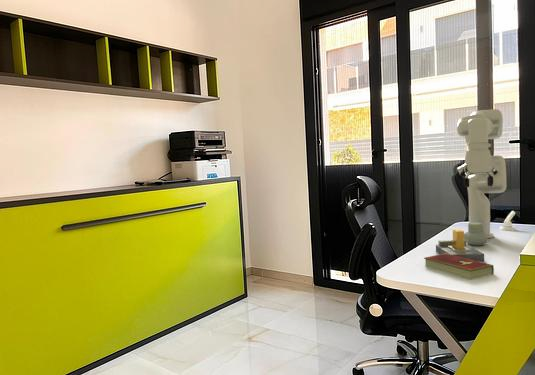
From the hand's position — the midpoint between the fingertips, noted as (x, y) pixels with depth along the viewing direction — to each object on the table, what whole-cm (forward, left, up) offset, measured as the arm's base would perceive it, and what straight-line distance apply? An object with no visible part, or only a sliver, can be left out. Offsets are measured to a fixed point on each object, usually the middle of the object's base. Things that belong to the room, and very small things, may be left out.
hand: (478, 186), depth 178 cm
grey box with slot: (+9, -12, -28) cm, 32 cm away
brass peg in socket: (+9, -12, -28) cm, 32 cm away
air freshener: (-11, +3, -29) cm, 31 cm away
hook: (-43, +33, -29) cm, 61 cm away
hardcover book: (+29, -20, -29) cm, 45 cm away
